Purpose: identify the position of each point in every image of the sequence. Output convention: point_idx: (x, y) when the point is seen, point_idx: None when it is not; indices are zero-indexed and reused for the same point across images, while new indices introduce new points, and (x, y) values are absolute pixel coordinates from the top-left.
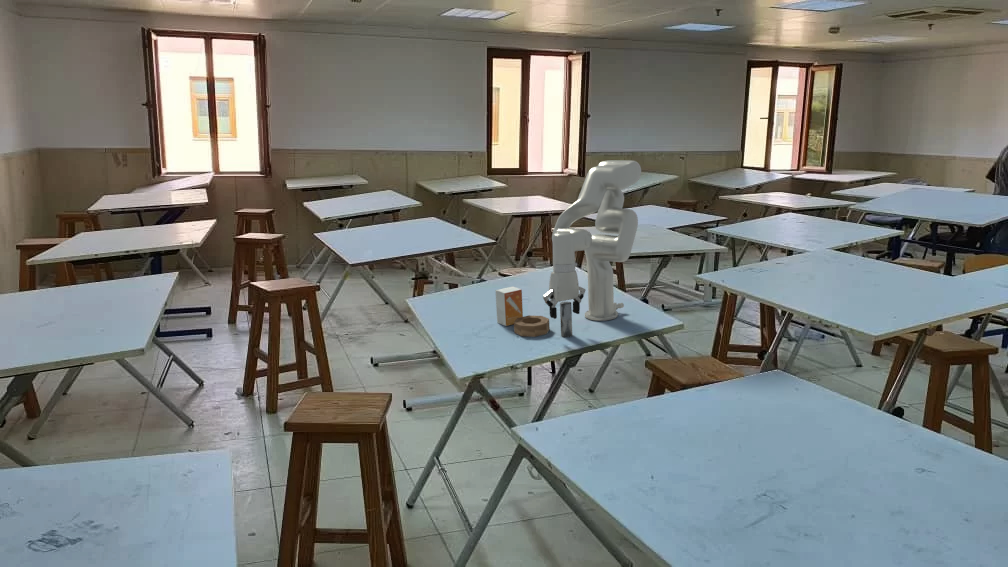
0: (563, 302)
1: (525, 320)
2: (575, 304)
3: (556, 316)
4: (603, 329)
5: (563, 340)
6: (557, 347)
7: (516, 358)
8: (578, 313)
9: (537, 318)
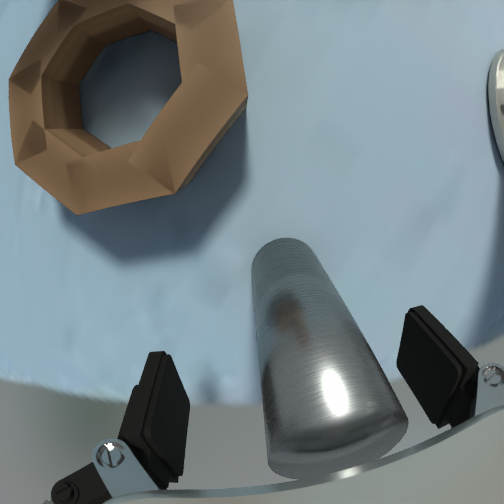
0: (341, 432)
1: (97, 22)
2: (436, 395)
3: (186, 415)
4: (460, 273)
5: (231, 325)
6: None
7: (31, 372)
8: (401, 367)
9: (175, 26)
